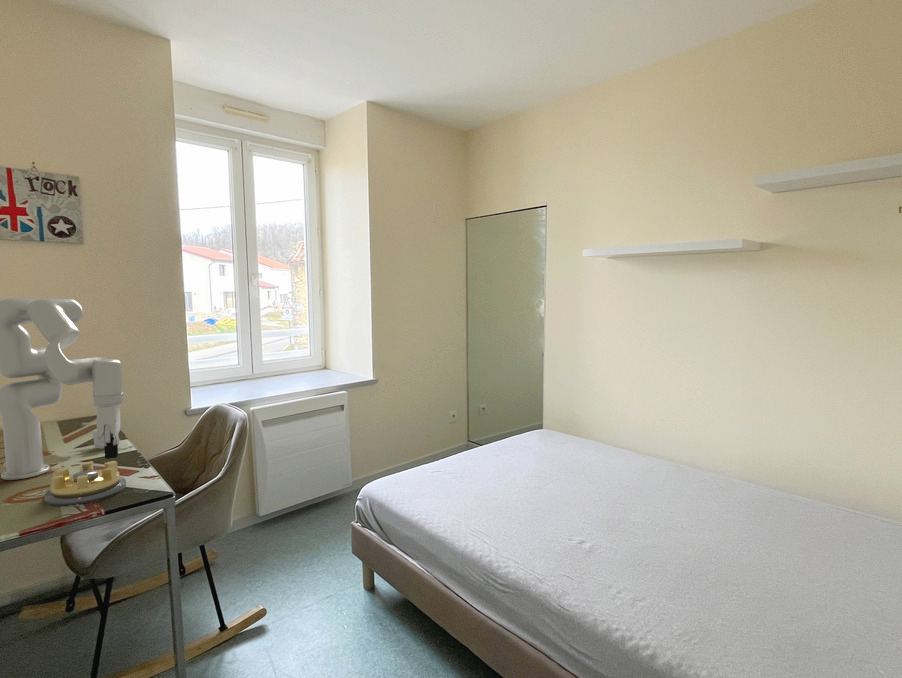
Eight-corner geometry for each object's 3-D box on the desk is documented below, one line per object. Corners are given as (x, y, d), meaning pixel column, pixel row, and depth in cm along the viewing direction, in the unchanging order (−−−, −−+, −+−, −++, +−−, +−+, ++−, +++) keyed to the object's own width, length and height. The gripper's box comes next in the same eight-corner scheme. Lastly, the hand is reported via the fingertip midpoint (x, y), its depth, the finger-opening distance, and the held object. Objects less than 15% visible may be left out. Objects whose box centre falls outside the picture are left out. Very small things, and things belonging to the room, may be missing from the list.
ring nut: (102, 473, 161) (100, 457, 161) (131, 482, 153) (130, 465, 153) (39, 491, 147) (38, 473, 146) (68, 502, 139) (67, 483, 138)
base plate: (28, 501, 144) (27, 495, 144) (96, 477, 163) (96, 472, 163) (75, 510, 138) (75, 504, 137) (141, 484, 156) (140, 479, 156)
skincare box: (119, 444, 200) (118, 426, 200) (107, 448, 194) (106, 430, 194) (106, 444, 201) (104, 426, 200) (93, 448, 195) (92, 430, 194)
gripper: (98, 395, 156) (101, 451, 158) (88, 405, 143) (91, 466, 144) (126, 394, 159) (129, 448, 161) (119, 403, 146) (122, 463, 148)
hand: (111, 457), depth 153 cm, fingers closed
